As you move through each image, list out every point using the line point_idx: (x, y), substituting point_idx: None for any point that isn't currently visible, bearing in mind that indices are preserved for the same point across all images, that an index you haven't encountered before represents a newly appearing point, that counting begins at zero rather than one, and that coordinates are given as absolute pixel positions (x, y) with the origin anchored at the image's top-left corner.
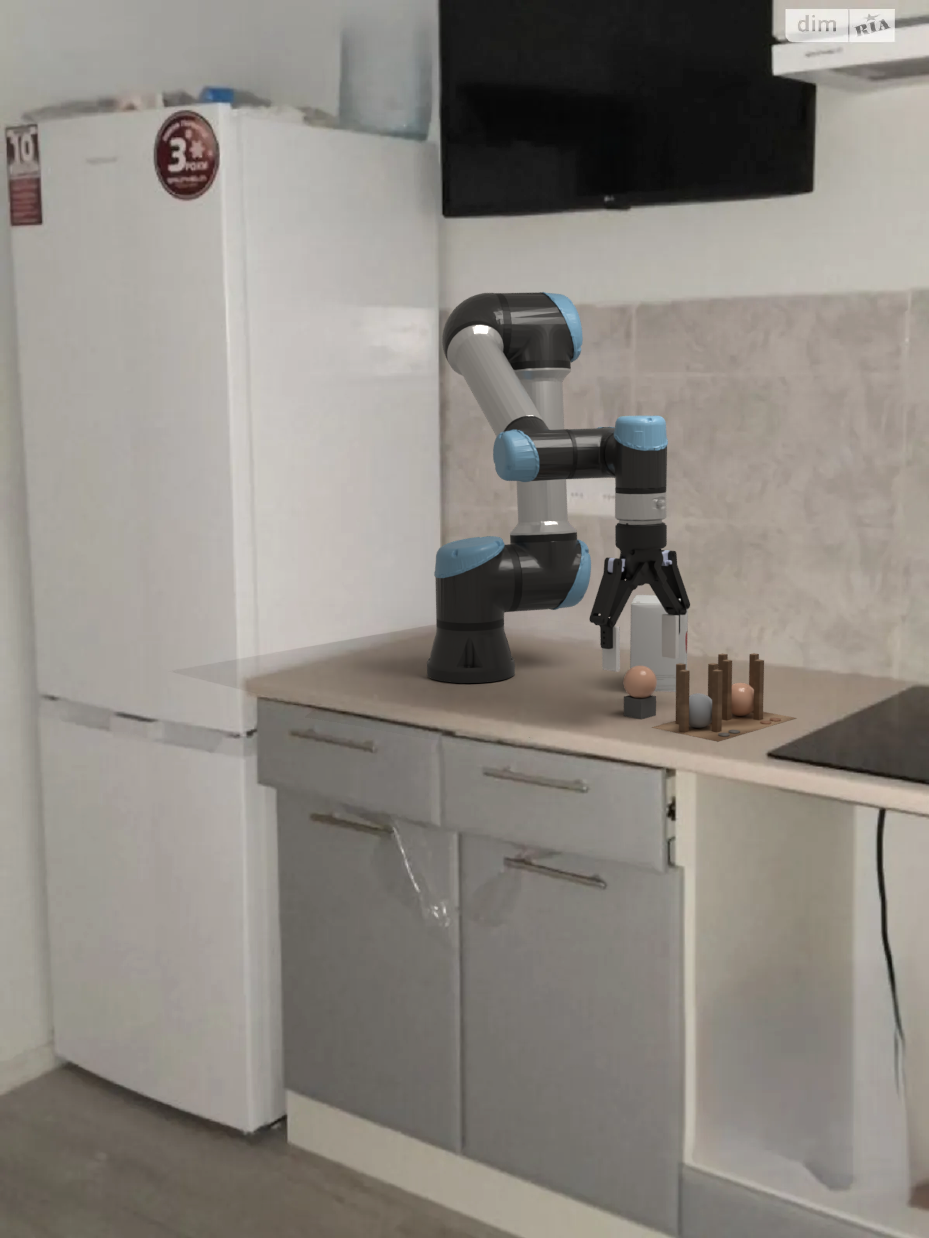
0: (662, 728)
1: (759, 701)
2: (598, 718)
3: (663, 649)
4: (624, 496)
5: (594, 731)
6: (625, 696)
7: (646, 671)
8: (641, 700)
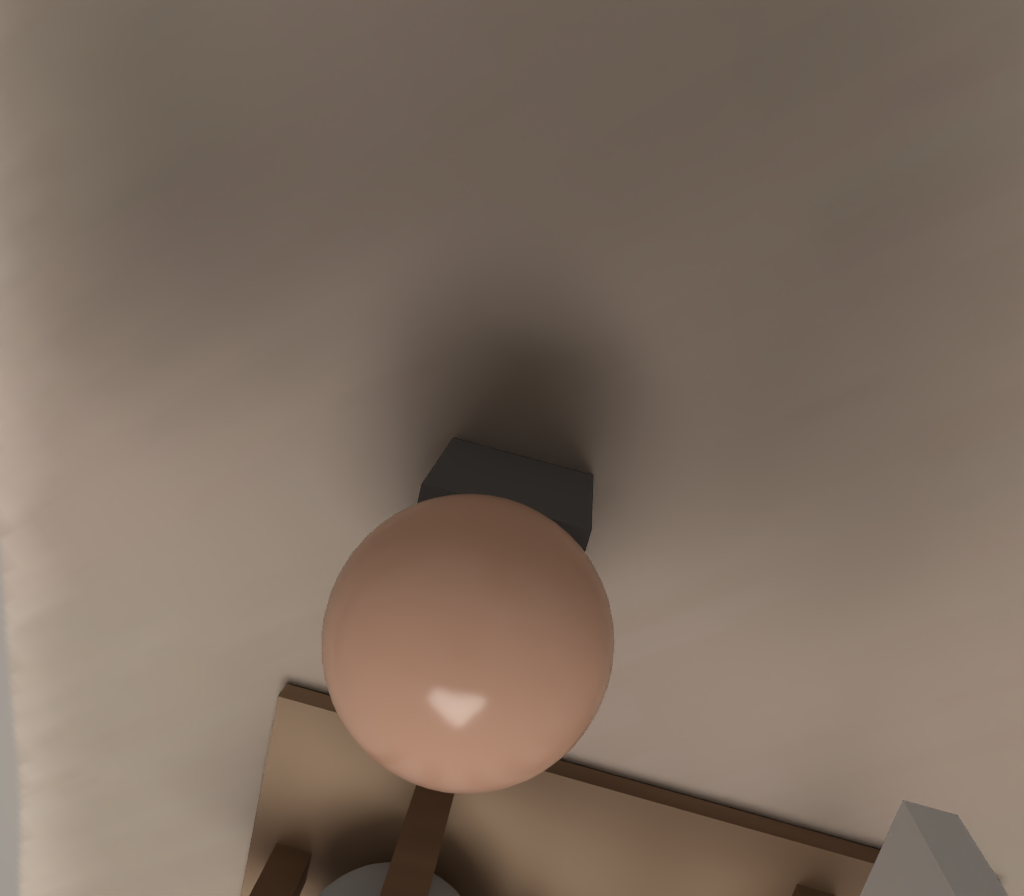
0: (285, 753)
1: None
2: (397, 279)
3: (929, 885)
4: None
5: (105, 412)
6: (430, 493)
7: (403, 776)
8: None
